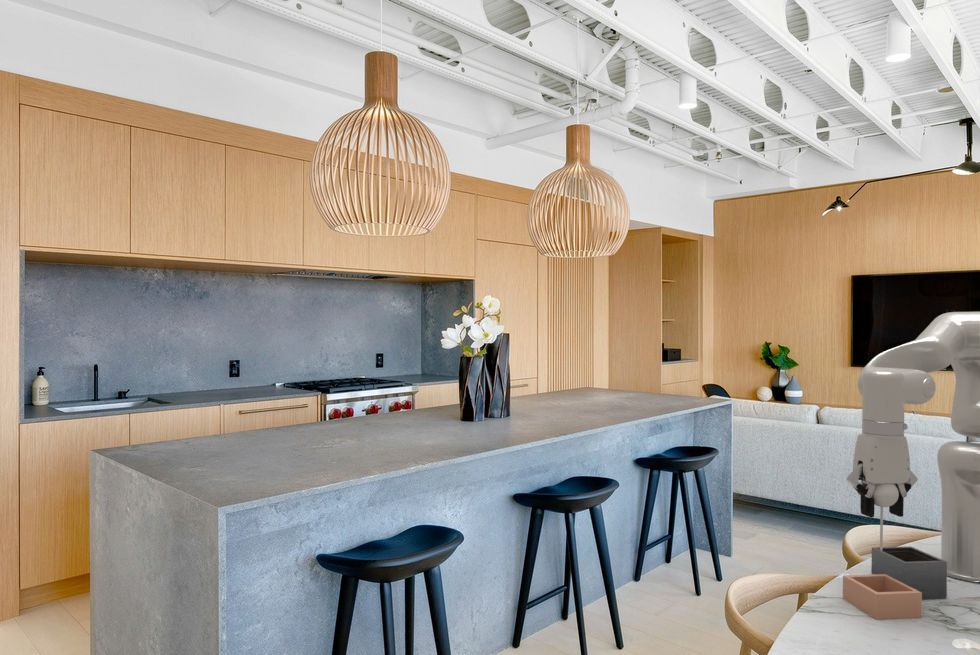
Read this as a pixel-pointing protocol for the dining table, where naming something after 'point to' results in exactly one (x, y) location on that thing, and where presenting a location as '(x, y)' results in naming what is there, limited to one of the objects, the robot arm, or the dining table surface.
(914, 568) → the box
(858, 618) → the dining table surface
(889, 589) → the tool holder
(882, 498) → the lollipop
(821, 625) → the dining table surface
